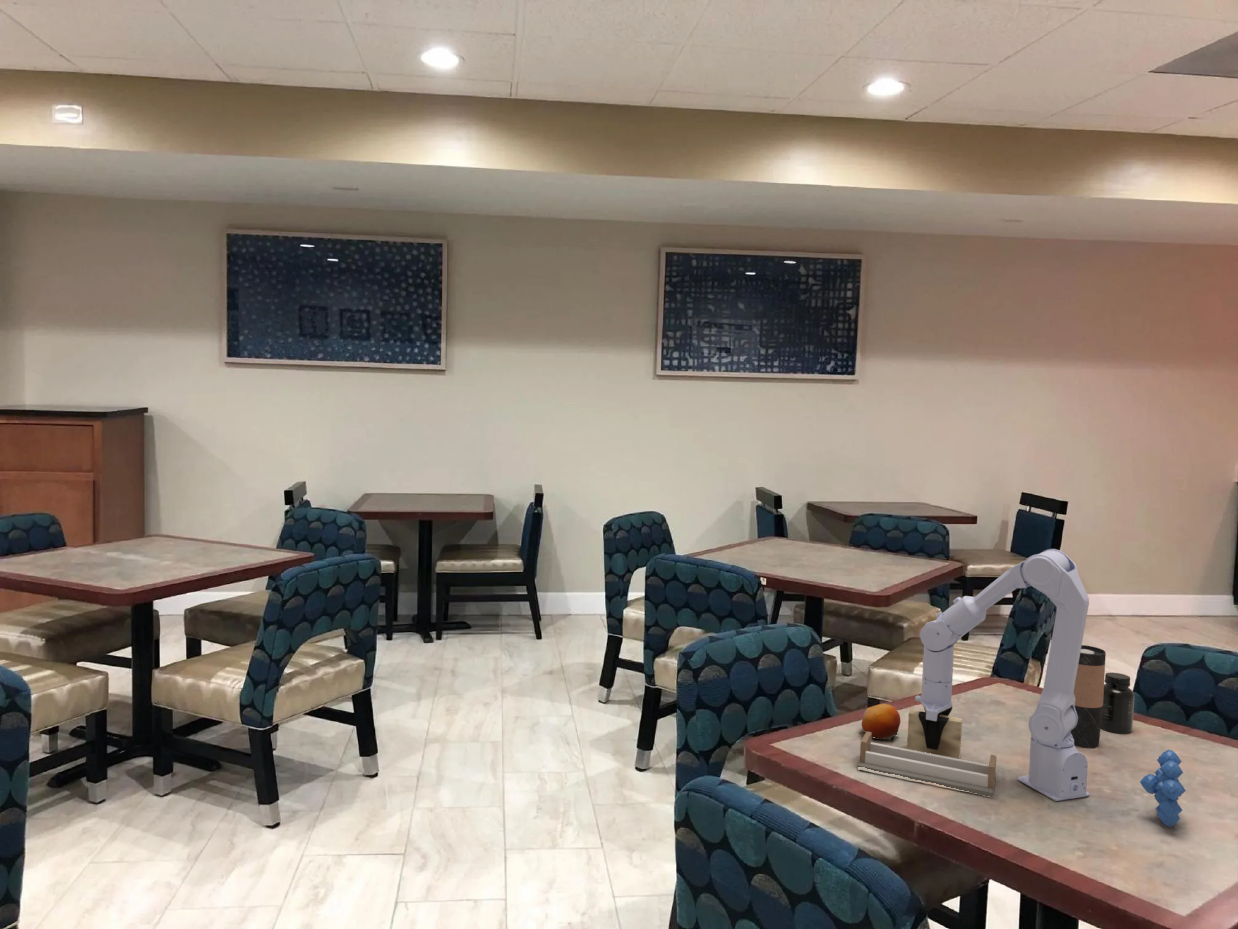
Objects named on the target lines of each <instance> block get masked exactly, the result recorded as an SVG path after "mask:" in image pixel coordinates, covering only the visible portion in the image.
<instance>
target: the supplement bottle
mask: <svg viewBox="0 0 1238 929" xmlns="http://www.w3.org/2000/svg"><path fill="white" fill-rule="evenodd" d="M1130 687H1131V677H1130V676H1129V675H1127V674H1125V673H1119V672H1111V671H1110V672H1105V676H1104V694H1103V709H1102V719H1101V729H1100V730H1103V731H1106V732H1108V733H1109V732H1110V733H1114V734H1119V735H1121V734H1122V735H1123V734H1129V733H1131V732H1132V731H1133V721H1134V709H1135V693H1134V691H1133V690H1132V688H1130Z"/></svg>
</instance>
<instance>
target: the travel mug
mask: <svg viewBox="0 0 1238 929" xmlns="http://www.w3.org/2000/svg"><path fill="white" fill-rule="evenodd" d="M1106 656H1107V654H1106V651H1105V650H1104V649H1103V648H1098V647H1096V646H1092V645H1086V644H1082V646H1081V652H1080V658H1079V663H1078V669H1077V675H1076V680H1075V686H1074V695H1075V698H1076V699H1075V710H1076V713H1077V716H1078V722H1077V725H1076V726H1075V728H1074V729H1072V730H1071V734H1072V736H1073V739H1074V745H1075V747H1079V748H1085V749H1091V748H1092V749H1095V748H1096V747H1098V746H1100V737H1101V730H1102V729H1101V719H1102V709H1103V694H1104V684H1105V674H1106Z"/></svg>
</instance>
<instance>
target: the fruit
mask: <svg viewBox="0 0 1238 929" xmlns="http://www.w3.org/2000/svg"><path fill="white" fill-rule="evenodd" d="M900 725H901V716H900V713H899V711H898V710H897V709H896V707H894V706H893V705H892V704H887V703H880V704H876V705H872V706H871V707H868V708H866V709H865V711H864V713H863V715H862V720H861V728H862V729H863V732H864V733H866V732H872V737H875V738H878V739H877V740H885V739H889V740H890V741H891V739H892V738H893V737H894V736H896V735H898V732H899V728H900ZM889 740H888V741H889Z"/></svg>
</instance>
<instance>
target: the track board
mask: <svg viewBox="0 0 1238 929" xmlns="http://www.w3.org/2000/svg"><path fill="white" fill-rule="evenodd" d="M872 739H873V738H872V732H865V734H863V737H862V739H861V741H860V748H859V749H860V750H859V752H860V753H859V762H858V764H857V768H858V767H865V768H867V769H871V770H874V771H879V772H883V773H888V774H895V775H900V776H903V777H908V778H910V779H915V780H921V781H925V782H931V783H936V784H939V785H944V786H946V787H951V788H956V789H959V790H964V791H969V792H972V793H977V794H980V795H985V796H990V797H992V796H993V797H994V791H993V790H995V785H996V784H995V783H996V779H995V778H997V771H996V770H997V755H995V754H990V756H989V763H988V764H987V763H982V762H976V761H972V760H965V759H961V758H960V759H957V758H951V757H946V756H941V755H936V754H930V753H925V752H920V751H915V750H910V749H907V748H904V747H900V746H899V747H898V746H892V745H889V744H882V743H878V742H874V741H873V742H872ZM994 784H995V785H994ZM993 797H992V798H993Z"/></svg>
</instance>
